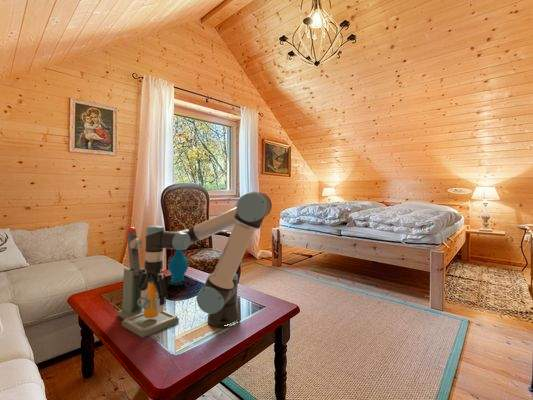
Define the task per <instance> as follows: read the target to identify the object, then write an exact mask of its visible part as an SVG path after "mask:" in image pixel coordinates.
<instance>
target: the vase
mask: <svg viewBox="0 0 533 400" xmlns="http://www.w3.org/2000/svg"><path fill="white" fill-rule="evenodd" d="M188 268H189V260H188V259H187V258H186V256H185V255H184V252H183V250H176V249H175V253H174V255H173V256H172V257H171V259H170V261H169V263H168V270H169V272H170V274H171V280H170V281H171V282H173V283H177V282H181V281H183V280H185V274H186V272H187V270H188ZM169 284H170V285H172V286H179V285H184V284H183V283H181V284H172V283H170V282H169Z"/></svg>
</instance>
